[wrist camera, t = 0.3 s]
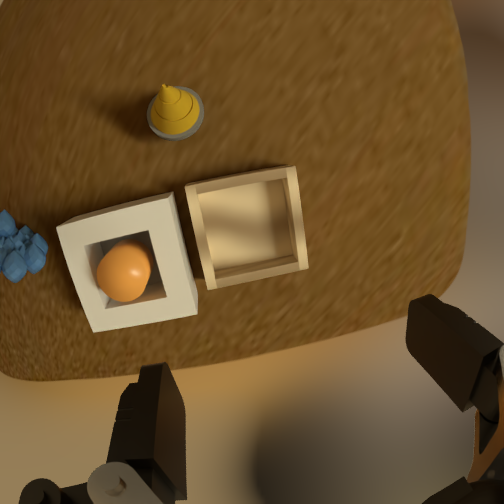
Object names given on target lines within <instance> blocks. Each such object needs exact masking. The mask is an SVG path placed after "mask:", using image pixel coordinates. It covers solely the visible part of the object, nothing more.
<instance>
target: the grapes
mask: <svg viewBox="0 0 504 504" xmlns="http://www.w3.org/2000/svg"><path fill="white" fill-rule="evenodd" d="M47 250H48V245H47V242H46V241H45V240H44V239H43V238H42V237H41V236H40V235H39V234H38V233H36V234H34V233H33V231H32V230H31V229H30V228H29V227H27V226H26V225H25V226H24V227H22V228H21V229H20V230H18V229H17V228H16V226H15V221H14V219H13V217H12V216H11V215H10V214H9V213H8V212H7V211H6V210H3V211H2V212H1V213H0V273H1V270H2V271H3V274H4V275H5V276H6V277H7V279H9V280H10V281H12V282H14V283H17V282H18V281H20V280H21V279H22V278H23V277H24V276H25V274H26V271H27V270H28V271H29V272H31V273H32V274H35V273H37V272H38V271H40V270H41V269H42V268H43V266H44V265H45V261H46V256H45V255H46V254H47Z"/></svg>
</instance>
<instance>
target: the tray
mask: <svg viewBox="0 0 504 504" xmlns="http://www.w3.org/2000/svg"><path fill="white" fill-rule="evenodd" d="M185 191H186V196H187V200H188V205H189V210H190V215H191V219H192V224H193V228H194V233H195V237H196V242H197V246H198V250H199V255H200V259H201V263H202V268H203V272H204V276H205V280H206V284H207V288H208V290H211V289H216V288H221V287H225V286H230V285H235V284H240V283H244V282H249V281H254V280H258V279H263V278H267V277H272V276H276V275H281V274H285V273H290V272H294V271H299V270H303V269H308V259H307V250H306V242H305V233H304V225H303V217H302V209H301V202H300V195H299V187H298V180H297V173H296V167H295V166H291V165H284V166H278V167H272V168H266V169H260V170H254V171H248V172H243V173H237V174H232V175H227V176H222V177H217V178H211V179H207V180H202V181H197V182H192V183H188V184H186V185H185Z"/></svg>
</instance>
